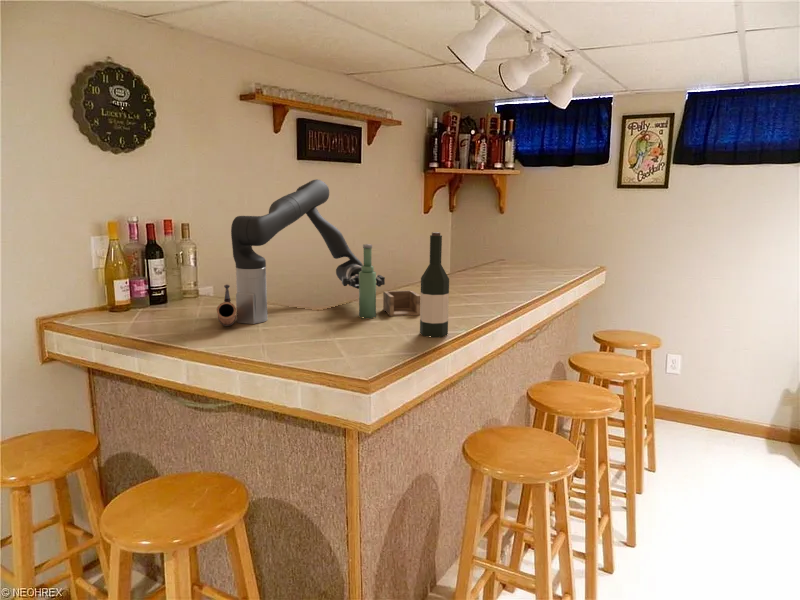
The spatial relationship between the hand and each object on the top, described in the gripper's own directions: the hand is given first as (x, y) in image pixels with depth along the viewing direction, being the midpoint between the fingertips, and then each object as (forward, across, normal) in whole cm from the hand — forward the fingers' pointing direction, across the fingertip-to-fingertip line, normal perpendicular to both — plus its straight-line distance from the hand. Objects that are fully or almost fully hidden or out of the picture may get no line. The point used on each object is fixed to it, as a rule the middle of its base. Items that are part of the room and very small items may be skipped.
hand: (367, 283), depth 196 cm
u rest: (-4, +13, +11) cm, 17 cm away
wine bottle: (+27, +14, +11) cm, 33 cm away
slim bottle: (0, 0, +11) cm, 11 cm away
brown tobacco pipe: (0, -45, +11) cm, 46 cm away
